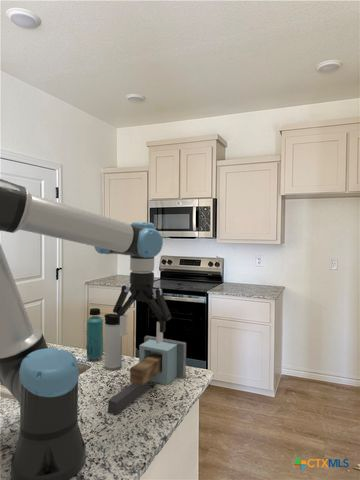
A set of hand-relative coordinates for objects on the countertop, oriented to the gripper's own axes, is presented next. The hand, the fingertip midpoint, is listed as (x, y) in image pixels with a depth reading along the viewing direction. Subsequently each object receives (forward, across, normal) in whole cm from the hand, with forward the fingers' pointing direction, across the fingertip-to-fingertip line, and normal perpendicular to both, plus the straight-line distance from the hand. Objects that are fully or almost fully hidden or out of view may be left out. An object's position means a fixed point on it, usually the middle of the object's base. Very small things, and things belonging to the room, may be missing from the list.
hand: (140, 338), depth 105 cm
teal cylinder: (+17, +30, -14) cm, 37 cm away
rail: (+17, 0, +6) cm, 18 cm away
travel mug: (+17, +19, -11) cm, 27 cm away
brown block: (+13, 0, -5) cm, 14 cm away
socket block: (+17, 0, -11) cm, 20 cm away
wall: (+17, 0, -16) cm, 23 cm away
